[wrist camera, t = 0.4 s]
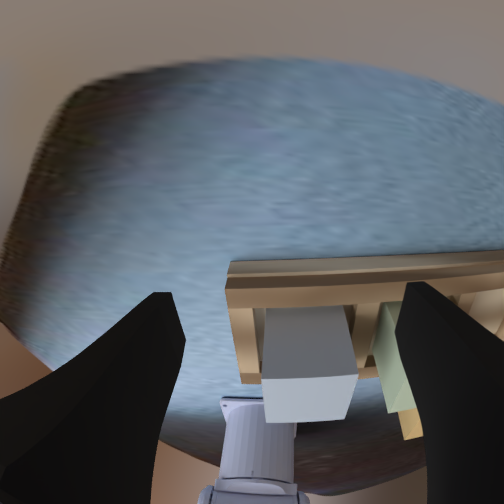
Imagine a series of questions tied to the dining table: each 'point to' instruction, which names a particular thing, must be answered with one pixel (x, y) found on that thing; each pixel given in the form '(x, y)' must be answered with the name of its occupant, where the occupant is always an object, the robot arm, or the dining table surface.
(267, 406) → the blue-grey block
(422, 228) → the dining table surface
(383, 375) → the sage block
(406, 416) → the ochre block
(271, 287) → the slot board
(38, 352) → the dining table surface
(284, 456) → the robot arm
